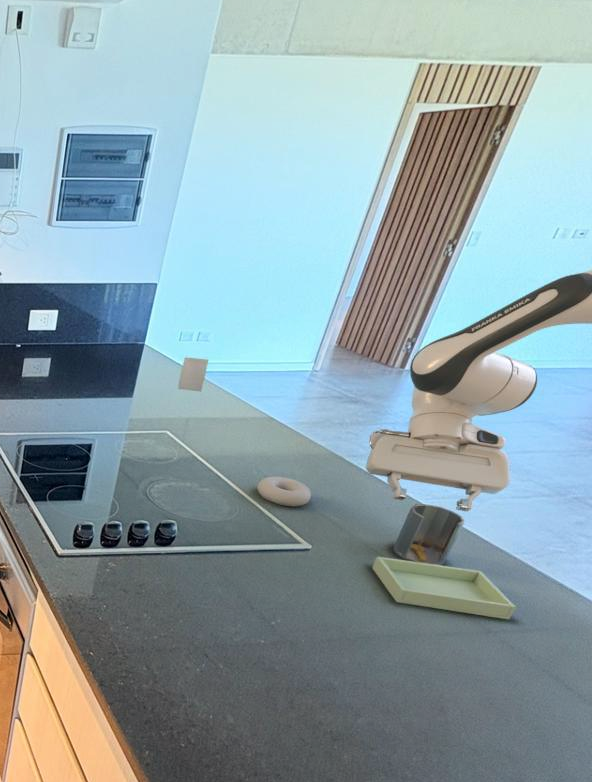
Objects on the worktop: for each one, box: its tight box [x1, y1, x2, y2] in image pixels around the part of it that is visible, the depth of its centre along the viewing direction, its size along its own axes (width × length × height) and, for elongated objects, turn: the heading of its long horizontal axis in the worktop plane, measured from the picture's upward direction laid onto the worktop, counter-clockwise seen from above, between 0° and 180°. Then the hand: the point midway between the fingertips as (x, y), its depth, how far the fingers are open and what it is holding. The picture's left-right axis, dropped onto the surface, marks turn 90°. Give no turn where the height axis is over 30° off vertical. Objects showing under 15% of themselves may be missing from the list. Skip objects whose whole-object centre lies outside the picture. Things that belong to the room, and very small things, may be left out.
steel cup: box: [393, 503, 466, 566], centre depth 112 cm, size 7×7×9 cm
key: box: [410, 544, 427, 561], centre depth 114 cm, size 5×2×1 cm, turn 153°
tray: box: [371, 556, 517, 620], centre depth 104 cm, size 15×10×2 cm
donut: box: [256, 476, 312, 507], centre depth 133 cm, size 10×4×10 cm
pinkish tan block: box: [177, 356, 209, 392], centre depth 198 cm, size 4×7×10 cm, turn 66°
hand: (430, 504), depth 114 cm, fingers open, 8 cm apart
